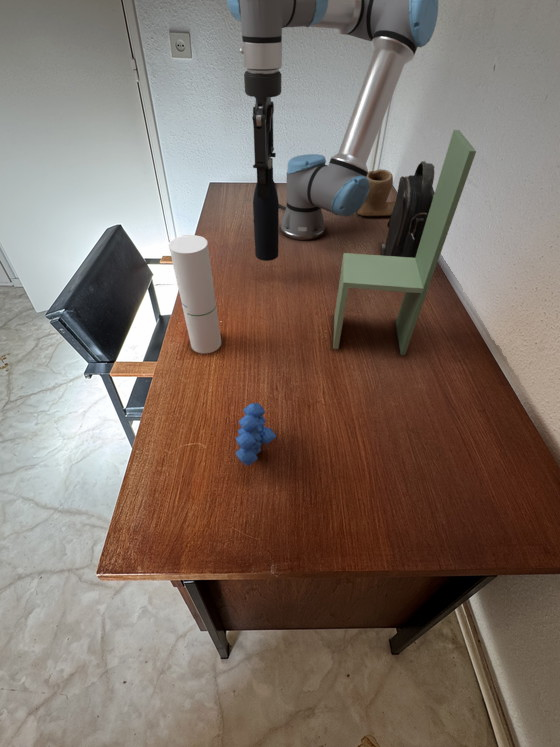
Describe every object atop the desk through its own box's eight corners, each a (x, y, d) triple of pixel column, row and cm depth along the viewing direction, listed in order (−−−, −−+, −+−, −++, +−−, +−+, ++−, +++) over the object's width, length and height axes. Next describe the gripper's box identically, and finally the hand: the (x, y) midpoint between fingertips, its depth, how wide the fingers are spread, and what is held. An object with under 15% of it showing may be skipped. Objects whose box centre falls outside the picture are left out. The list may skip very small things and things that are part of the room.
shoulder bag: (417, 284, 106) (451, 180, 86) (385, 281, 107) (411, 177, 87) (409, 246, 122) (436, 150, 101) (381, 244, 122) (402, 149, 102)
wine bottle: (275, 262, 100) (275, 133, 78) (252, 259, 101) (246, 131, 79) (280, 250, 104) (281, 126, 83) (258, 248, 105) (253, 124, 83)
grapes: (270, 485, 63) (269, 446, 54) (231, 479, 64) (225, 440, 55) (281, 429, 71) (282, 388, 62) (246, 424, 72) (243, 383, 63)
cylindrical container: (209, 329, 91) (192, 231, 73) (227, 343, 88) (215, 244, 70) (185, 343, 88) (161, 243, 70) (203, 357, 84) (183, 257, 66)
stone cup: (356, 221, 135) (364, 176, 124) (353, 207, 143) (359, 165, 132) (398, 221, 134) (409, 177, 124) (392, 208, 143) (401, 165, 132)
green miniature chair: (334, 317, 95) (361, 125, 65) (399, 323, 94) (459, 129, 63) (333, 348, 87) (364, 145, 56) (405, 355, 86) (476, 151, 55)
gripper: (252, 63, 80) (256, 177, 97) (234, 77, 68) (243, 206, 84) (286, 63, 80) (284, 179, 96) (275, 78, 67) (275, 208, 84)
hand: (265, 191), depth 90 cm, fingers closed on wine bottle, 5 cm apart
